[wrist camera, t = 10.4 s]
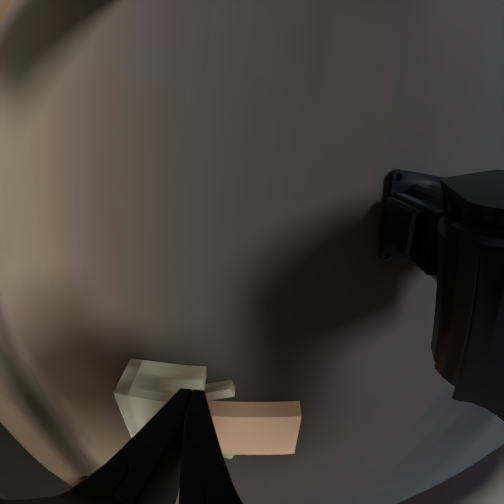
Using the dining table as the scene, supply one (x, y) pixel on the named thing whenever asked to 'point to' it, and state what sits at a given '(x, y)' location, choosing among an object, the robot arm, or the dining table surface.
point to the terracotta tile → (256, 426)
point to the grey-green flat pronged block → (161, 389)
